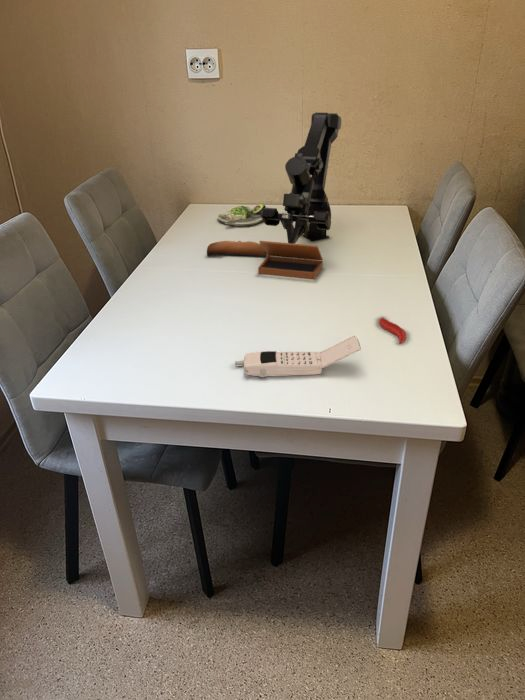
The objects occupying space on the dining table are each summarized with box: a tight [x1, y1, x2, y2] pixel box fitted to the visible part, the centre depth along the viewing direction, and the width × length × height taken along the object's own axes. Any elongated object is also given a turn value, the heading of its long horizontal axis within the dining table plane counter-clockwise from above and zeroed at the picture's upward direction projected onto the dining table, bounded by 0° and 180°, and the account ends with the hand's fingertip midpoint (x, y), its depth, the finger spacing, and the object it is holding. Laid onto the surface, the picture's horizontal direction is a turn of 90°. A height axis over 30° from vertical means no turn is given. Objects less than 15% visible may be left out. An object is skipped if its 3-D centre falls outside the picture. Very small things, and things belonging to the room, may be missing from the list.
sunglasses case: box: [206, 240, 268, 258], centre depth 169 cm, size 18×7×7 cm, turn 80°
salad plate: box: [217, 203, 267, 227], centre depth 195 cm, size 19×18×5 cm
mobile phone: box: [234, 335, 362, 378], centre depth 113 cm, size 6×6×25 cm
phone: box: [266, 261, 317, 272], centre depth 156 cm, size 7×14×1 cm, turn 72°
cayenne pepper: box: [378, 317, 407, 344], centre depth 126 cm, size 12×5×2 cm, turn 2°
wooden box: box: [257, 255, 324, 280], centre depth 156 cm, size 9×16×2 cm, turn 72°
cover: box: [259, 240, 324, 261], centre depth 154 cm, size 9×16×1 cm
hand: (290, 247), depth 152 cm, fingers closed, pressing on cover
